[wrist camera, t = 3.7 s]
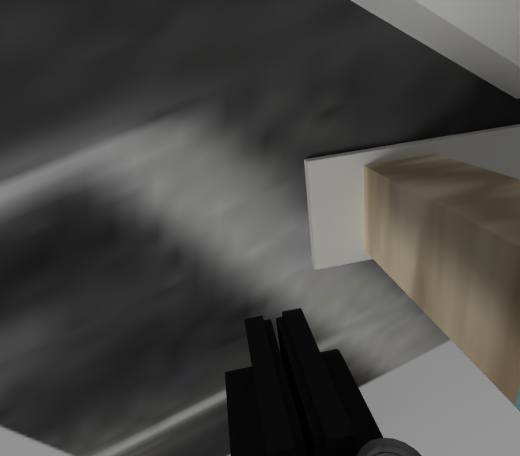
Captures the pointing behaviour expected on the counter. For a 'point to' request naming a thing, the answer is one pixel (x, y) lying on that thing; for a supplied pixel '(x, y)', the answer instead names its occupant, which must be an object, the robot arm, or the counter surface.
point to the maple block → (453, 253)
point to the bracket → (463, 33)
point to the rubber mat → (352, 185)
